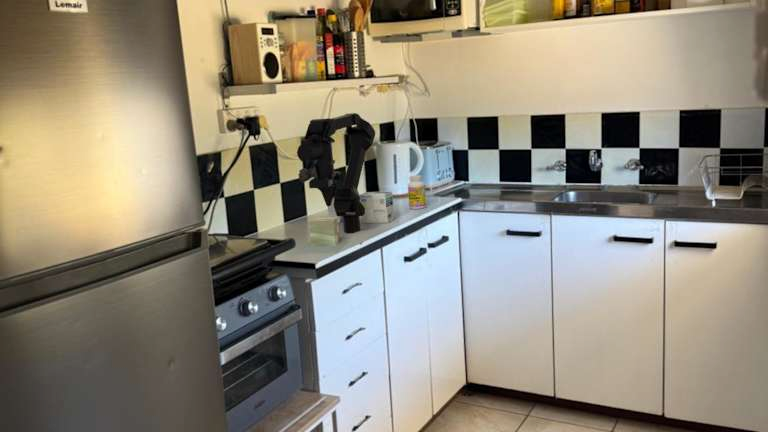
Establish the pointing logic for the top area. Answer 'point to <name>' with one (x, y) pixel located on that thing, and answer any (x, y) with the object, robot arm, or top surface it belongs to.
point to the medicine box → (333, 212)
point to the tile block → (324, 231)
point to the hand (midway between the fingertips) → (328, 206)
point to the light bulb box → (377, 207)
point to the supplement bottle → (416, 193)
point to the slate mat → (320, 248)
